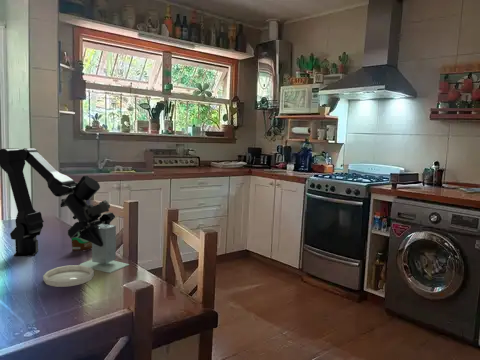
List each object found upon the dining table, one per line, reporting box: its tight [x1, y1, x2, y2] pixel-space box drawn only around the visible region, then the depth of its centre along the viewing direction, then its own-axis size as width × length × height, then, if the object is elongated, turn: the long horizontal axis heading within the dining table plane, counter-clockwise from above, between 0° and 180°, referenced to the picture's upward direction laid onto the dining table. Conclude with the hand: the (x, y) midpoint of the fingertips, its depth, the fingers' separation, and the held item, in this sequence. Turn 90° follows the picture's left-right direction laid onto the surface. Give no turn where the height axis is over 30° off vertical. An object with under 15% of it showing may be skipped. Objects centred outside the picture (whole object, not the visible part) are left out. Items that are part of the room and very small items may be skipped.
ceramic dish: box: [42, 264, 95, 288], centre depth 122 cm, size 14×14×2 cm
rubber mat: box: [78, 259, 130, 274], centre depth 134 cm, size 14×9×1 cm, turn 65°
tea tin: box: [91, 224, 117, 264], centre depth 133 cm, size 6×6×12 cm
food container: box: [70, 223, 95, 252], centre depth 153 cm, size 12×6×10 cm, turn 168°
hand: (107, 243), depth 133 cm, fingers closed on tea tin, 5 cm apart
